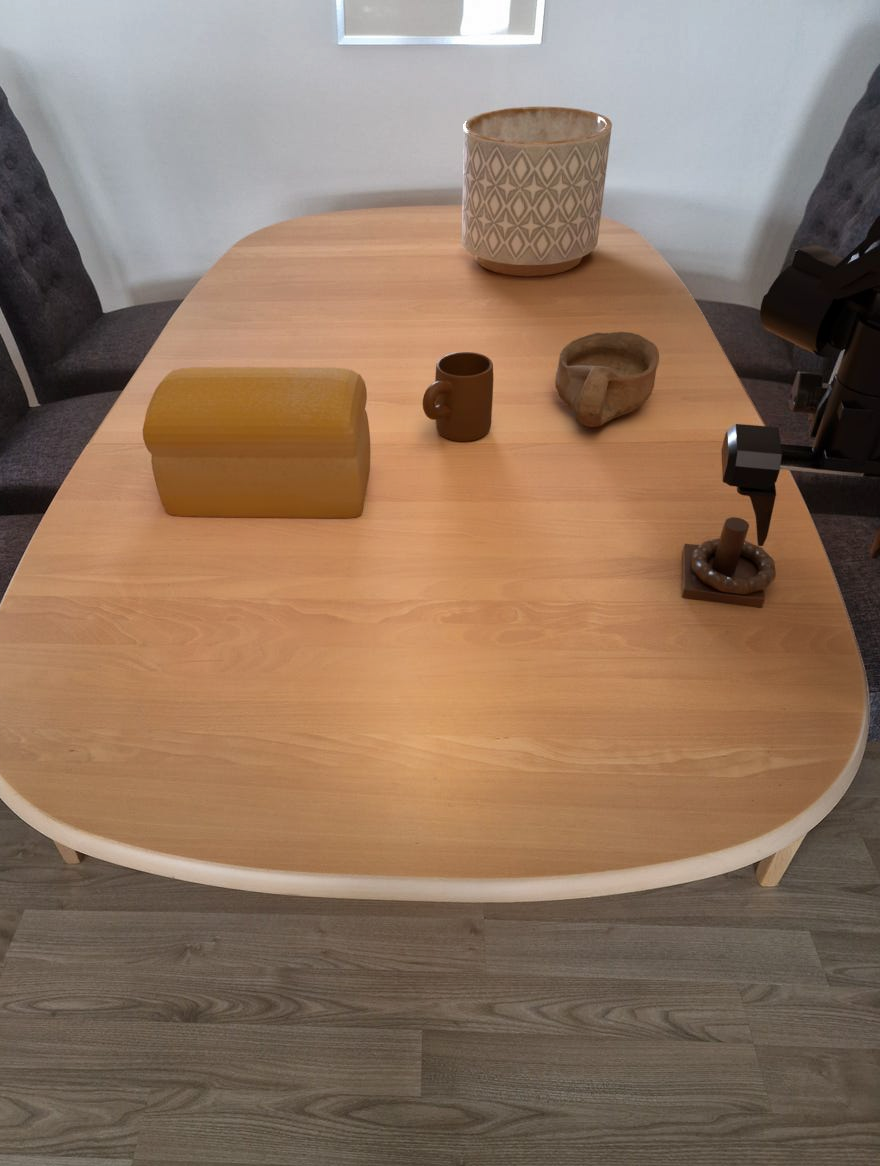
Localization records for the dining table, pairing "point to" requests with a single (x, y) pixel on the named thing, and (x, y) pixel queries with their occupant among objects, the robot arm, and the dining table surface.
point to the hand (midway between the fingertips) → (815, 549)
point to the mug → (461, 396)
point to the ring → (730, 583)
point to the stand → (723, 567)
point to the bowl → (606, 375)
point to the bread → (260, 442)
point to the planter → (533, 188)
